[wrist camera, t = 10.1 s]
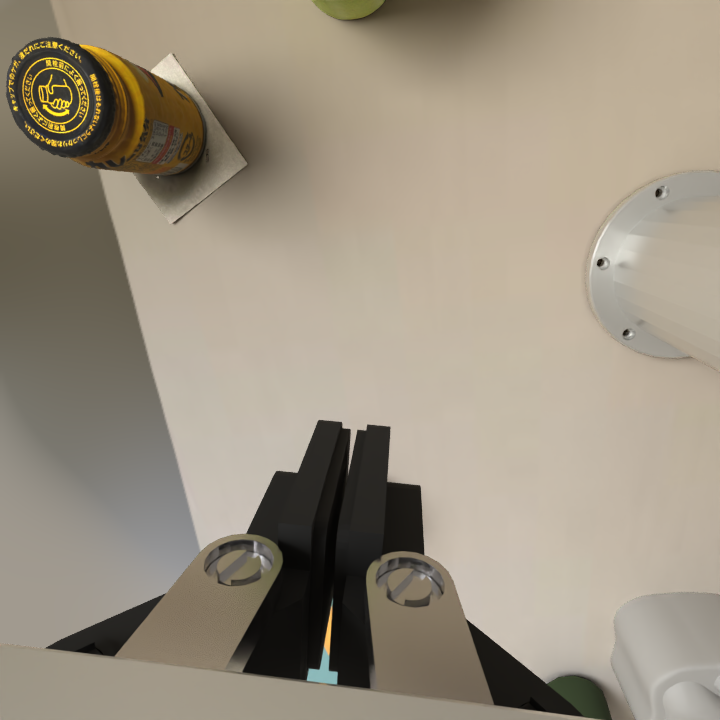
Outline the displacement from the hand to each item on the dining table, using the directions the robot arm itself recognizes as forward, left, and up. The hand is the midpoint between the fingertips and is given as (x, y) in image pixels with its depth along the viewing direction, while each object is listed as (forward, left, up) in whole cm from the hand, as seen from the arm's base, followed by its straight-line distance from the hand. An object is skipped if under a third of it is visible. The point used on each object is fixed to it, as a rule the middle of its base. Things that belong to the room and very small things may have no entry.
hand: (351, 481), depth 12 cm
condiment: (+16, -9, -27) cm, 33 cm away
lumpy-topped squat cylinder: (-29, +29, -27) cm, 49 cm away
